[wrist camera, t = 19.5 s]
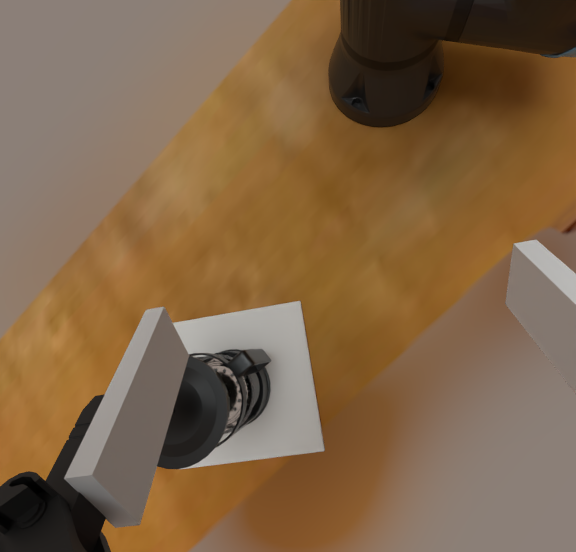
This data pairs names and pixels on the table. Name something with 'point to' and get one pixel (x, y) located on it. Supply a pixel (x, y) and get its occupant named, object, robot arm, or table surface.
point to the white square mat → (282, 373)
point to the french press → (214, 404)
